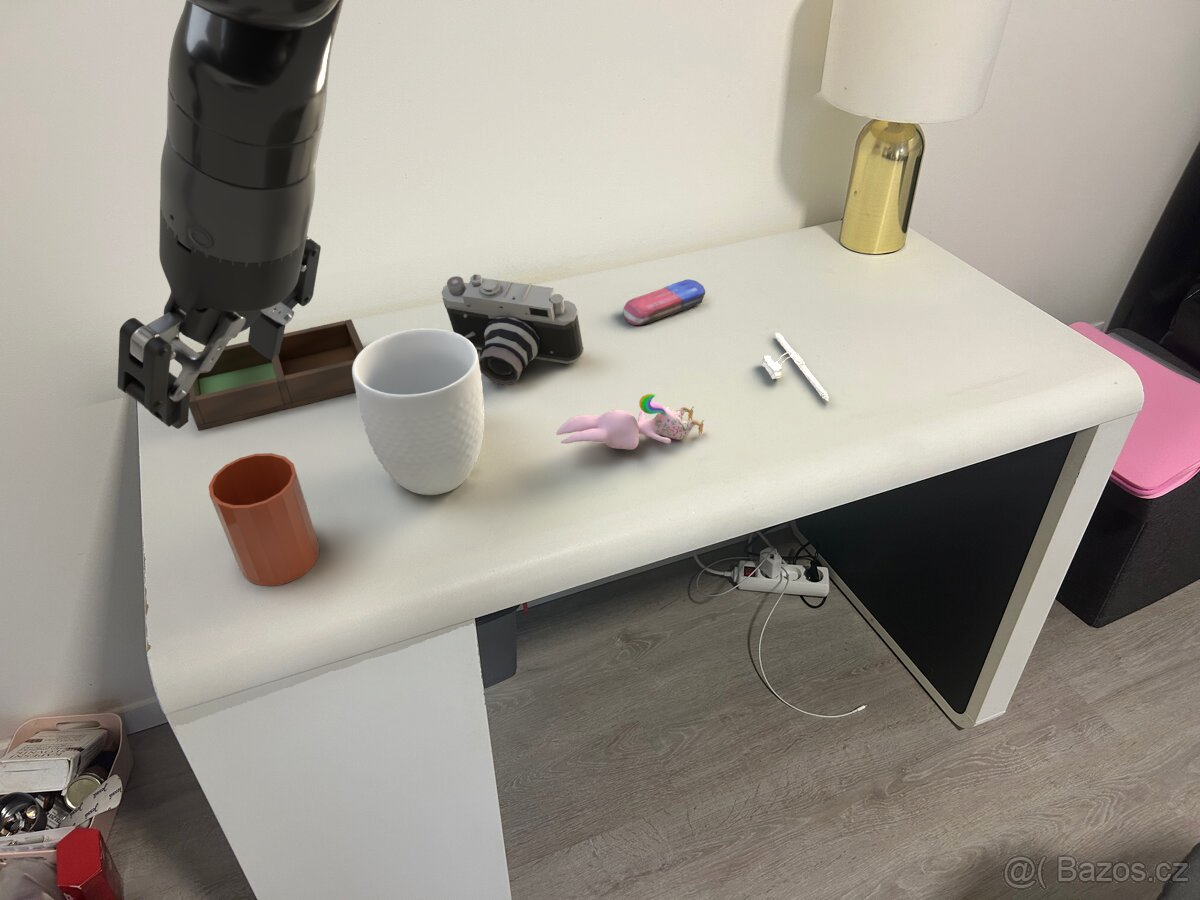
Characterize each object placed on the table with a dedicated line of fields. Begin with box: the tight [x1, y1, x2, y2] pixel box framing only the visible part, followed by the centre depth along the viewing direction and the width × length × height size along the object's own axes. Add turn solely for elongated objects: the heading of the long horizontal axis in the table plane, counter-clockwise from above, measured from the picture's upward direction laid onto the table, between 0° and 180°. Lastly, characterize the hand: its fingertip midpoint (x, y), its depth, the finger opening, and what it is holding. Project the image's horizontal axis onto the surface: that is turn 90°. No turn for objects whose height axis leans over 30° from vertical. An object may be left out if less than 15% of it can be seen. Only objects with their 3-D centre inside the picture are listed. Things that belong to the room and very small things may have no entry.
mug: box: [352, 327, 485, 496], centre depth 79 cm, size 15×11×13 cm
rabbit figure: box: [555, 393, 706, 450], centre depth 83 cm, size 6×6×15 cm
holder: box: [189, 318, 365, 431], centre depth 93 cm, size 18×10×4 cm, turn 114°
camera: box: [441, 273, 585, 385], centre depth 93 cm, size 16×9×10 cm, turn 73°
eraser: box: [622, 279, 706, 326], centre depth 105 cm, size 11×4×2 cm, turn 123°
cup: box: [208, 452, 320, 587], centre depth 71 cm, size 7×7×9 cm
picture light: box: [760, 332, 830, 402], centre depth 95 cm, size 14×4×2 cm, turn 14°
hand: (218, 382), depth 58 cm, fingers open, 8 cm apart
